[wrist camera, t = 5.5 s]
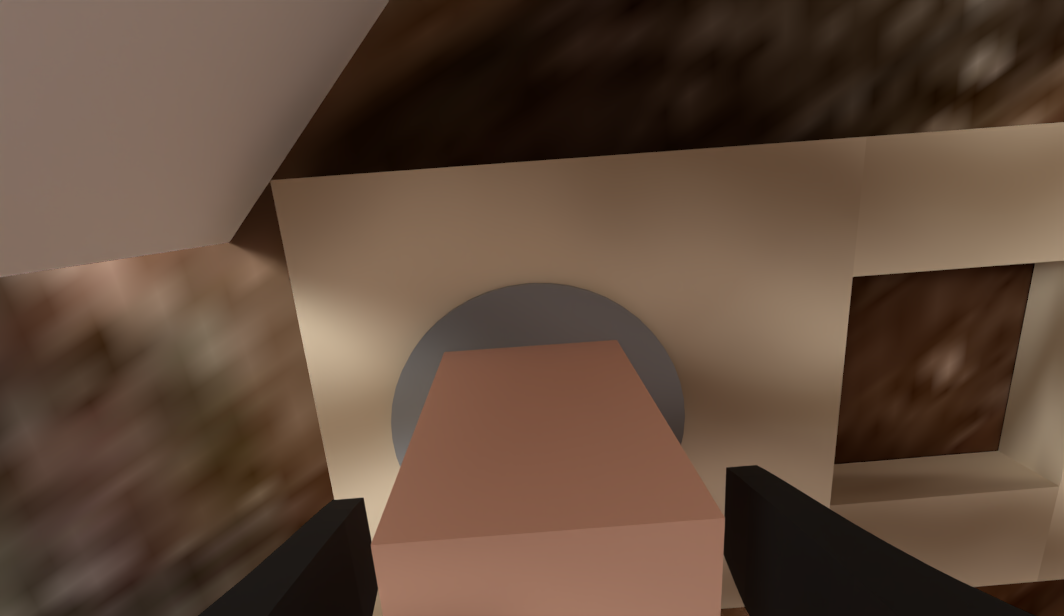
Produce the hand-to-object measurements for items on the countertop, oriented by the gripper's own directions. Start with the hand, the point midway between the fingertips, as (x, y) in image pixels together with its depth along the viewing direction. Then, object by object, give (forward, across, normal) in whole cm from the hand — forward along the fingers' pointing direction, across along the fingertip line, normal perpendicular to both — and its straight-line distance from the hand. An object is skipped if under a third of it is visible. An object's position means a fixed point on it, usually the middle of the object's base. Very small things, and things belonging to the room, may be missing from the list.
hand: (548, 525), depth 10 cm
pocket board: (+6, -6, 0) cm, 9 cm away
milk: (+6, +9, -14) cm, 17 cm away
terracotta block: (+4, 0, 0) cm, 4 cm away
